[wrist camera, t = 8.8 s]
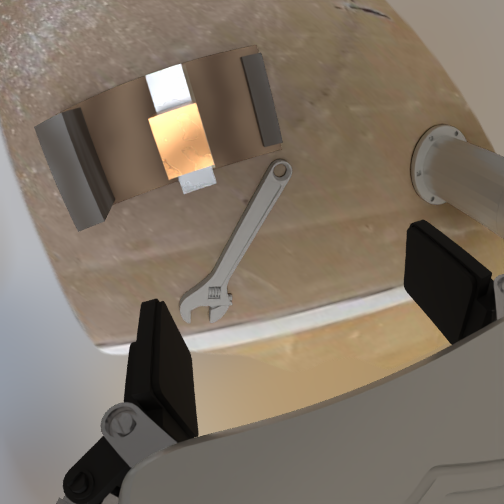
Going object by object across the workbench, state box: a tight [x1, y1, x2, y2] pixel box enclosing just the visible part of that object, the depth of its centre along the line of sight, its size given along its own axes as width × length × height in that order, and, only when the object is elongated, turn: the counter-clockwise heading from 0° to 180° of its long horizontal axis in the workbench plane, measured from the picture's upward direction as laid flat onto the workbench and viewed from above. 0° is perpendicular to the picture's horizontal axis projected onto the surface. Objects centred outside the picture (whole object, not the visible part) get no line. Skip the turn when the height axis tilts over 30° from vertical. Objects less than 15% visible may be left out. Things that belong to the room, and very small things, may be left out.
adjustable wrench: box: [180, 159, 292, 323], centre depth 41 cm, size 25×6×2 cm, turn 146°
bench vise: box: [34, 45, 283, 232], centre depth 29 cm, size 22×12×8 cm, turn 104°
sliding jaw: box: [146, 64, 216, 194], centre depth 25 cm, size 3×11×12 cm, turn 14°
